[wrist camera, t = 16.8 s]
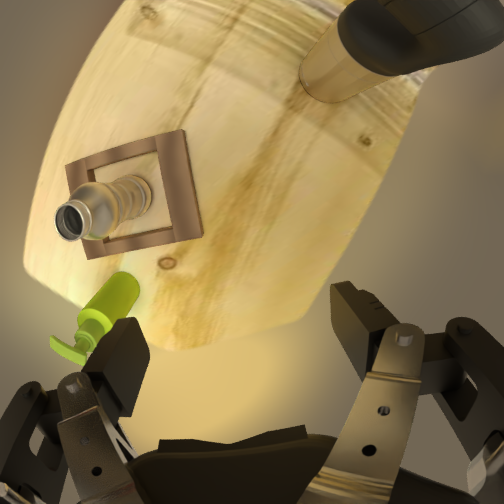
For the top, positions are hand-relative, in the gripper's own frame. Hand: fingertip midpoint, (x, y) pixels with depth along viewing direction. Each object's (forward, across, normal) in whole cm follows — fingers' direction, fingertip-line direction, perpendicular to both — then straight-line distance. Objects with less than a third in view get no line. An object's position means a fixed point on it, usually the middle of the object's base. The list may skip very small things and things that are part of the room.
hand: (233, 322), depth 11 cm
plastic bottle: (+33, +15, -4) cm, 37 cm away
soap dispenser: (+33, +22, +10) cm, 41 cm away
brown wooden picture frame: (+33, +15, -4) cm, 37 cm away
